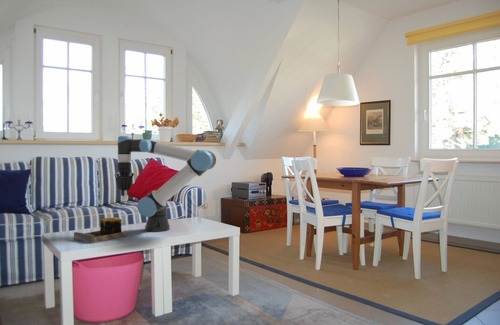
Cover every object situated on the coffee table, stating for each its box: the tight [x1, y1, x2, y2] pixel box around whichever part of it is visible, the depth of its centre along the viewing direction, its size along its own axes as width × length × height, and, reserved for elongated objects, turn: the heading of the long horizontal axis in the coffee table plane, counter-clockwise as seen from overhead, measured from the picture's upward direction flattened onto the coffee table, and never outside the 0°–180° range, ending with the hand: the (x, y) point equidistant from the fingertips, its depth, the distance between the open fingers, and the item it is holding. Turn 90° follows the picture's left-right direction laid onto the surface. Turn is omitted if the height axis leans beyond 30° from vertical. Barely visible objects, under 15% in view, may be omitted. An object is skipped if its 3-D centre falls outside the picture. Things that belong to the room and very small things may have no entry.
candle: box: [99, 216, 123, 236], centre depth 229 cm, size 10×10×10 cm
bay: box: [73, 230, 128, 244], centre depth 224 cm, size 23×16×4 cm
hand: (124, 201), depth 238 cm, fingers closed
